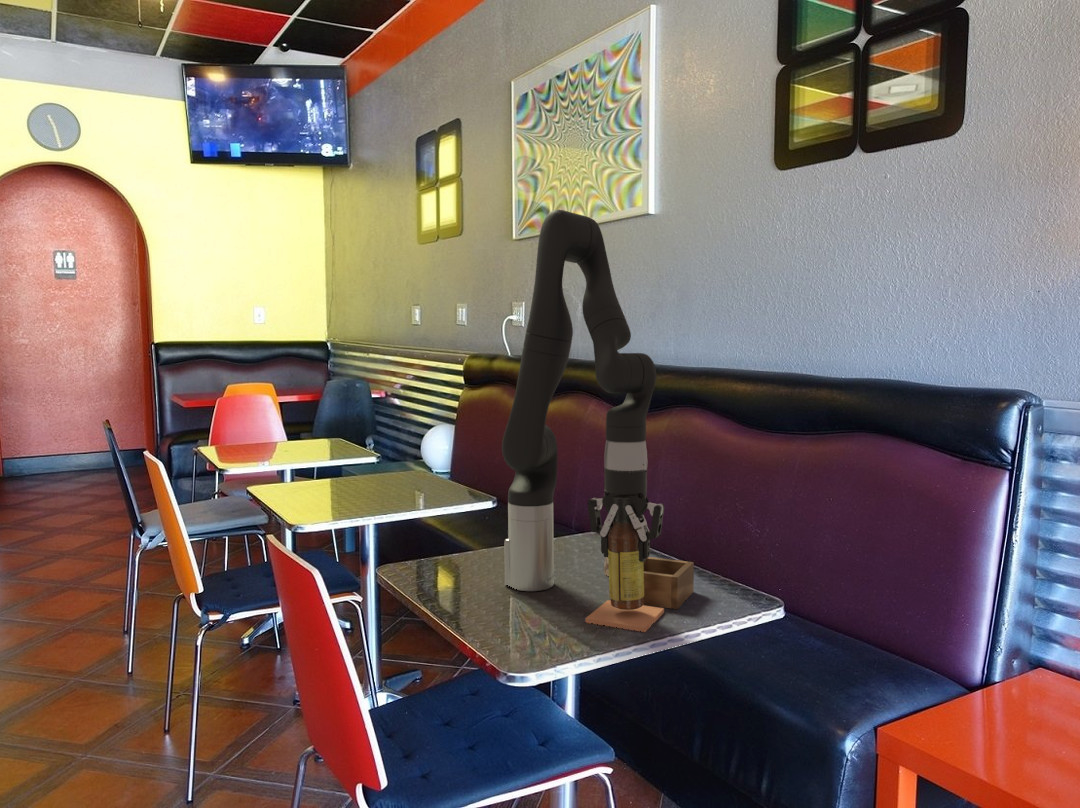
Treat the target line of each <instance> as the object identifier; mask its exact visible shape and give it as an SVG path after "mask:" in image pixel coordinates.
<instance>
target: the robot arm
mask: <svg viewBox="0 0 1080 808" xmlns="http://www.w3.org/2000/svg"><path fill="white" fill-rule="evenodd" d="M607 254H608V253H607V250H606V245H605V241H604V236H603V233H602V230H601V228H600V225H599V224H598V222H597V221H596V220H594V219H593V218H592V217H589V216H586V215H582V214H578V213H575V212H571V211H567V210H563V209H553V210H551V211H549V213H548V214H547V215H546V216H545V217H544V220H543V222H542V225H541V227H540V231H539V236H538V245H537V254H536V263H535V264H536V265H535V275H534V278H535V279H534V286H533V292H532V300H531V303H530V311H529V317H528V321H527V325H526V330H525V334H524V335H525V336H524V342H523V346H522V351H521V360H520V365H519V370H518V374H517V375H518V376H517V381H516V388H515V394H514V398H513V403H512V407H511V409H510V414H509V417H508V421H507V422H506V423H507V424H506V426H505V430H504V434H503V437H502V444H501V452H502V456H503V457H502V458H503V459H504V461H505V463H506V464H507V466H508V467H509V468H511V469H512V470H514V471H515V472H514V478H513V481H512V483H511V485H510V487H509V488H508V491H507V513H508V514H507V518H508V521H507V522H508V523H507V528H508V529H507V535H508V537H507V538H505V539H504V547H503V549H504V552H503V553H504V586H505V585H508V586H507V587H509V586H510V588H511V587H512V588H511V589H513V588H514V589H513V590H516V589H517V591H522V592H523V591H524V592H537V591H538V592H539V591H544V590H545V591H546V590H549V589H551V588H552V587H554V585H555V584H554V582H555V579H554V577H555V575H554V573H555V572H554V565H555V564H554V563H555V562H554V561H555V559H554V557H555V555H554V554H555V553H554V494H555V490H556V488H557V482H558V481H557V480H558V476H557V475H558V454H559V453H558V443H557V438H556V435H555V433H554V432H553V430H552V428H550V426H548V425H546V423H547V416H548V410H549V406H550V404H551V401H552V398H553V397H554V394H555V392H556V389H557V388H558V386H559V384H560V382H561V380H562V377H563V376H564V374H565V371H566V368H567V365H568V361H569V357H570V352H571V347H572V341H573V334H574V331H573V330H574V329H573V328H574V327H573V323H572V319H571V315H570V311H569V307H568V305H567V302H566V299H565V295H564V288H563V276H564V268H565V263H566V262H569V263H573V264H577V266H578V267H579V268H580V270H581V272H582V274H583V276H584V278H585V290H584V295H583V297H582V298H583V299H582V315H583V316H582V317H583V319H584V322H585V325H586V327H587V330H588V333H589V335H590V338H591V340H592V344H593V354H594V355H593V356H594V369H595V371H594V373H595V378H596V382H597V383H598V385H599V386H600V387H601V389H602V390H603V391H605V392H606V393H609V394H626V396H625V399H624V401H623V403H621V404H619V405H617V406H614V407H612V408H609V409H608V410H607V412H606V414H605V415H606V416H605V426H606V427H605V440H606V441H605V448H604V495H603V497H602V498H598V497H593V498H591V499H588V500H587V508H588V509H587V510H588V516H589V524H590V525H589V526H590V531H591V532H592V533H596V534H599V536H600V552H601V554H603V557H604V558H606V557H608V548H609V546H608V534H609V531H610V529H611V527H612V525H613V523H614V518H615V515H616V513H617V510H618V506H617V505H616V504H613V497H620V498H630V499H631V505H627V506H626V507H625V509H626V512H627V514H628V515H629V517H630V519H631V524H633V526H634V528H635V530H637V532H638V535H639V537H640V539H641V540H640V541H639V561H640V562H644V561H645V560H646V559H647V558H648V557H650V555H651V552H650V550H651V544H650V543H651V540H655V539H657V538H658V537H659V536H660V535H662V527H663V520H664V513H665V505H664V504H663V503H661V502H660V503H655V502H654V503H653V502H650V501H649V499H648V495H647V493H648V463H649V462H648V461H649V460H648V450H647V441H646V439H647V438H646V437H647V416H648V413H649V408H650V405H651V401H652V396H653V393H654V389H655V386H656V381H657V370H656V365H655V363H654V361H653V359H652V358H651V357H650V356H649V355H648V354H646V353H644V352H643V353H642V352H634V353H633V352H630V353H629V352H627V353H626V352H619V350H621V349H623V348H625V346H627V345H628V344H629V343H630V340H631V338H632V333H631V329H630V327H629V324H628V321H627V319H626V317H625V315H624V312H623V309H622V307H621V304H620V302H619V300H618V297H617V294H616V290H615V286H614V283H613V279H612V273H611V269H610V268H611V267H610V265H609V264H610V263H609V260H608V255H607ZM603 507H604V508H605V510H606V512H607V516H606V518H605V520H604V522H603V525H602V516H601V510H602V508H603ZM647 510H649V514H650V515H651V517H652V520H651V526H650V529H649V527H648V523H647V520H646V518H645V515H644V514H645V513H646V511H647Z"/></svg>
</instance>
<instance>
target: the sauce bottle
mask: <svg viewBox="0 0 1080 808" xmlns="http://www.w3.org/2000/svg"><path fill="white" fill-rule="evenodd" d="M613 504H616V505H617V506H618V510H617V513H616V515H615V518H614V523H613V525H612V527H611V529H610V531H609V534H608V546H609V548H608V563H609V577H608V589H609V590H608V592H609V598H610V599H609V600H611V605H612V606H613V607H616V608H619V609H624V610H634V609H638V608H640V607H641V606H643V605H645V604H644V599H643V598H644V572H643V562H640V561H639V541H640V540H641V539H640V537H639V535H638V532H637V530H635V528H634V526H633V524H631V519H630V517H629V515H628V514H627V512H626V509H625V507H626V506H627V505H631V499H630V498H620V497H613Z"/></svg>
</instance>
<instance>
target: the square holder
mask: <svg viewBox="0 0 1080 808" xmlns="http://www.w3.org/2000/svg"><path fill="white" fill-rule="evenodd" d="M694 566H695V565H694V561H685V560H678V559H668V558H660V557H651V556H649V557H648V558H647V559H646V560H645V561H644V562H643V572H644V598H643V599H644V604H643V605H645V606H652V607H659V608H664V609H665V608H668V609H672V608H673V609H674V610H678V609H679V608H680V607H681V606H682V605H683V604H684V603H685V602H686V601H685V600H687V599H689V598H690V597H691V595H693V593H694V583H695V582H694V579H695V578H694V573H695V572H694V571H695V569H694Z"/></svg>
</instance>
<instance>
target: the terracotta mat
mask: <svg viewBox="0 0 1080 808" xmlns="http://www.w3.org/2000/svg"><path fill="white" fill-rule="evenodd" d="M664 613H665V607H658V606H651V605H645V604H643V606H641V607H640V608H638V609H634V610H624V609H619V608H616V607H613V606H612V605H611V600H610V599H607V600H606V601H605V602H604V603H602V604H601V605H600V606H599V607H597V608H596V609H595V610H594V611H592V612H591V613H590V614H589V615H588V616H586V617H585V619H584V620H585V622H586V623H585V624H591V623H593V624H592V625H597V624H598V625H599V626H603V625H605V626H604V627H609V626H610V627H609V628H616V627H617V628H616V629H622V628H623V629H624V630H628V629H629V630H628V631H634V630H635V632H640V631H641V633H646V632H647V631H648V630H649V629H650V628H651V627H652V626H653V625H654V624H655V623H656V621H657V620H658V619H660V617H661V616H663V614H664ZM653 623H654V624H653ZM652 624H653V625H652ZM651 625H652V626H651ZM623 629H622V630H623Z"/></svg>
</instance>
